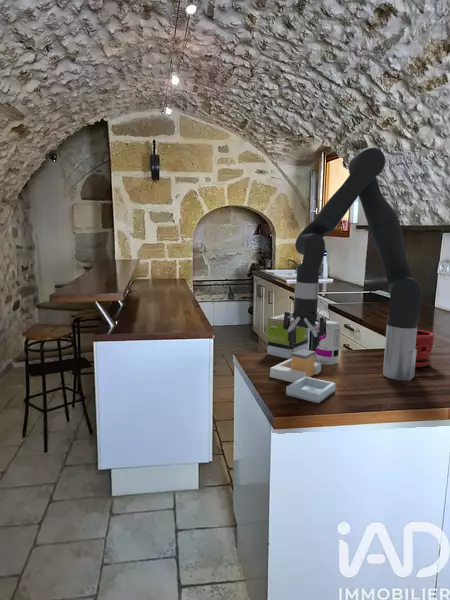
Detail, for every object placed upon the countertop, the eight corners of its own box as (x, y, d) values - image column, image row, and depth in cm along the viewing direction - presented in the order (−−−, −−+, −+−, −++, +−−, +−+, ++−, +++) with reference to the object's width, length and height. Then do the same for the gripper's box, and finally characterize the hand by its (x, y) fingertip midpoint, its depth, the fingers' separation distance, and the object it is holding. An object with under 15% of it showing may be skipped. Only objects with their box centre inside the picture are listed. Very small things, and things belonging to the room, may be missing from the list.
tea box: (286, 347, 178) (288, 311, 176) (308, 351, 172) (310, 315, 170) (266, 354, 167) (267, 316, 165) (288, 359, 161) (290, 320, 158)
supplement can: (321, 366, 153) (324, 324, 151) (311, 359, 161) (313, 320, 159) (342, 364, 155) (345, 323, 153) (330, 358, 163) (333, 319, 161)
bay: (320, 371, 147) (321, 363, 146) (299, 384, 134) (300, 374, 133) (292, 365, 153) (292, 357, 152) (269, 376, 140) (270, 367, 140)
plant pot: (432, 362, 161) (435, 330, 160) (428, 371, 150) (431, 337, 148) (395, 356, 168) (397, 326, 166) (389, 364, 157) (391, 332, 155)
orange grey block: (313, 374, 143) (315, 351, 142) (304, 380, 138) (306, 356, 137) (300, 371, 146) (301, 348, 145) (290, 376, 141) (291, 353, 140)
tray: (335, 391, 128) (335, 383, 128) (318, 403, 119) (318, 394, 118) (304, 383, 134) (304, 376, 134) (286, 394, 125) (286, 386, 124)
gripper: (332, 297, 137) (328, 347, 140) (292, 292, 146) (289, 339, 148) (322, 300, 131) (318, 351, 134) (281, 294, 140) (278, 343, 142)
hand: (302, 345), depth 141 cm, fingers open, 8 cm apart
